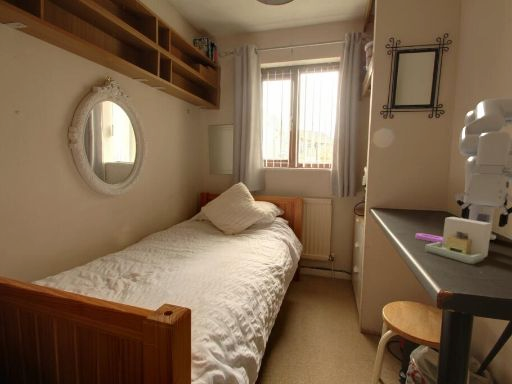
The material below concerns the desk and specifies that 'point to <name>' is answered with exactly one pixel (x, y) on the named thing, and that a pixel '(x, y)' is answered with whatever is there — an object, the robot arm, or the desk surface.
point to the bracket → (429, 237)
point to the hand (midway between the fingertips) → (482, 223)
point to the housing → (469, 233)
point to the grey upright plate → (480, 218)
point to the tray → (454, 253)
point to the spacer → (459, 244)
